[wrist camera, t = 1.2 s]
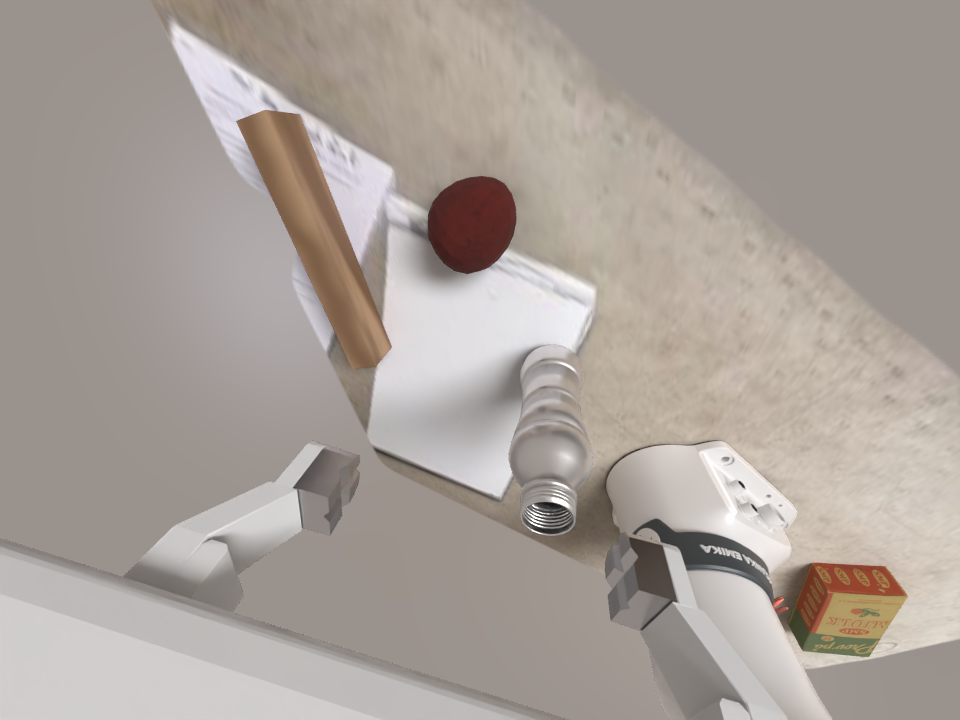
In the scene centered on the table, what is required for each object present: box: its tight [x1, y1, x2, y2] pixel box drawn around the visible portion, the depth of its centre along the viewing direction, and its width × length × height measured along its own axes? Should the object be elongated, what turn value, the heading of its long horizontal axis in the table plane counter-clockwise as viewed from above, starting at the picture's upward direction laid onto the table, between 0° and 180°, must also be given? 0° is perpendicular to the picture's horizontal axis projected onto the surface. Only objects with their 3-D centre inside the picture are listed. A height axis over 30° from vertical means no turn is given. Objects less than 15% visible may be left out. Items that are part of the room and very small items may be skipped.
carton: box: [787, 563, 908, 657], centre depth 50 cm, size 8×16×4 cm, turn 12°
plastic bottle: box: [509, 345, 593, 536], centre depth 32 cm, size 6×7×20 cm
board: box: [236, 110, 392, 369], centre depth 36 cm, size 3×24×4 cm, turn 14°
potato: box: [428, 176, 516, 274], centre depth 31 cm, size 7×8×7 cm
